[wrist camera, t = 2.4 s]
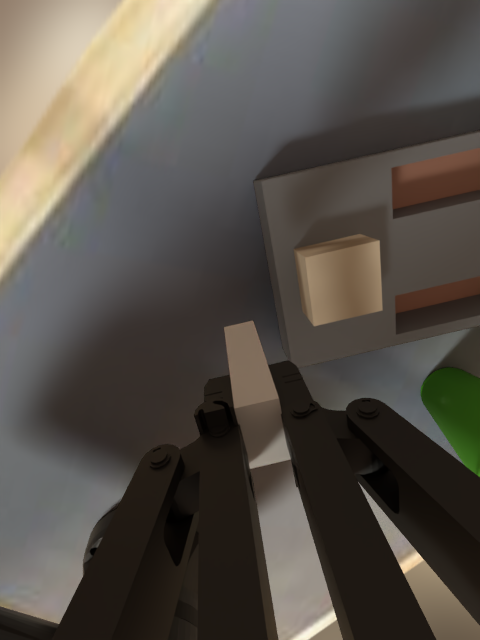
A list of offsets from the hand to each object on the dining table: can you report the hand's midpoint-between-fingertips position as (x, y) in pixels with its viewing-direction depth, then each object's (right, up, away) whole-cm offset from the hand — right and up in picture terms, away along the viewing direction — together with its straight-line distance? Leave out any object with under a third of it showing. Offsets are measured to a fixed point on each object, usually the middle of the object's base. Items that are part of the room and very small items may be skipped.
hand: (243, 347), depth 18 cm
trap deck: (+16, +9, +12) cm, 22 cm away
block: (+7, +5, +8) cm, 12 cm away
